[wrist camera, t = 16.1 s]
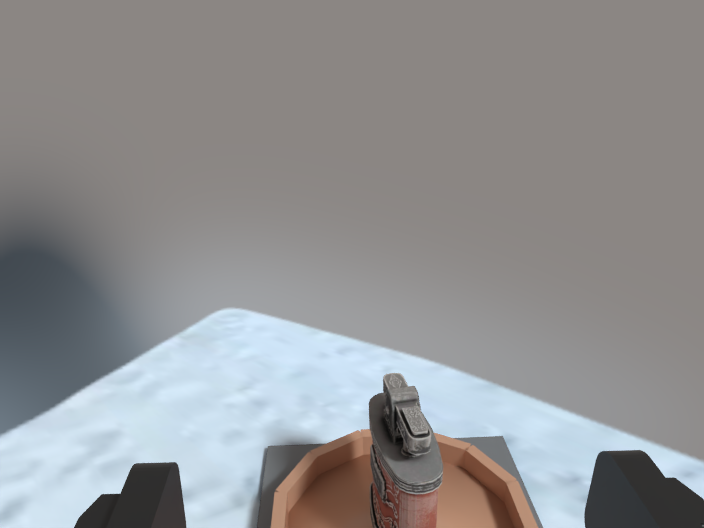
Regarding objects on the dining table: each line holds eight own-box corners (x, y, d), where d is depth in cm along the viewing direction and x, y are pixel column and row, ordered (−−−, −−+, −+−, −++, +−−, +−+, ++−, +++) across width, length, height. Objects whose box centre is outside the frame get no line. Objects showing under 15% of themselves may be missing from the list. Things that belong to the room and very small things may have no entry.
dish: (261, 672, 28) (258, 643, 28) (282, 456, 43) (280, 433, 42) (575, 654, 29) (580, 625, 28) (491, 447, 43) (493, 424, 43)
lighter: (360, 488, 39) (359, 360, 35) (409, 481, 40) (412, 353, 36) (390, 594, 32) (392, 446, 28) (449, 583, 32) (459, 436, 29)
